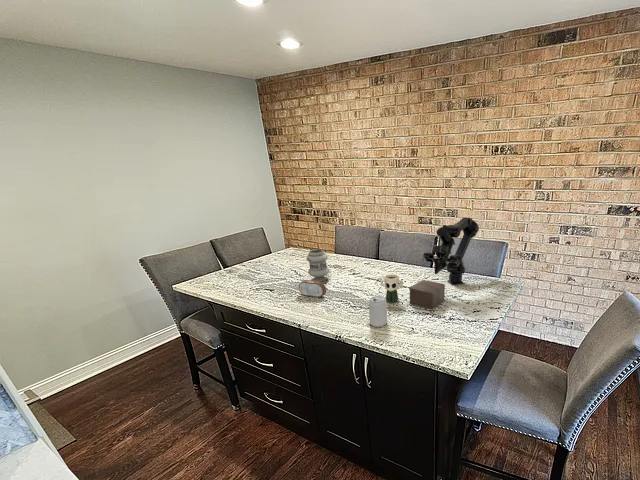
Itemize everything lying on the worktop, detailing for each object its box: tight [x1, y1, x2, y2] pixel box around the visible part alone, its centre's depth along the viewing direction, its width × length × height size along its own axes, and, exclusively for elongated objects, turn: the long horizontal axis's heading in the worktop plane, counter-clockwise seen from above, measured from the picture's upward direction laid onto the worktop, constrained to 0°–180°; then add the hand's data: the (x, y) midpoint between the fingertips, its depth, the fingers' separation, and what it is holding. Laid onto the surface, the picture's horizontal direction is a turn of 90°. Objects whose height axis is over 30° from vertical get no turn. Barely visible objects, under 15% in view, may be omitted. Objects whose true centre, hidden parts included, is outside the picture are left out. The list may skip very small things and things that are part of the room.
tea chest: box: [409, 285, 446, 310], centre depth 166 cm, size 13×13×8 cm
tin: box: [298, 279, 327, 298], centre depth 175 cm, size 15×3×8 cm, turn 71°
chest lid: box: [408, 279, 446, 294], centre depth 164 cm, size 13×13×1 cm
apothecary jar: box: [306, 248, 330, 284], centre depth 196 cm, size 12×12×18 cm
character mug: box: [380, 273, 404, 303], centre depth 167 cm, size 11×7×13 cm, turn 83°
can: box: [368, 295, 388, 328], centre depth 144 cm, size 8×8×12 cm
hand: (435, 273), depth 169 cm, fingers closed
